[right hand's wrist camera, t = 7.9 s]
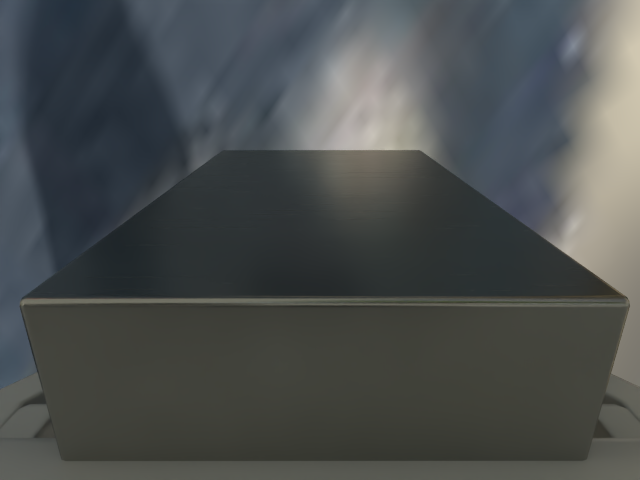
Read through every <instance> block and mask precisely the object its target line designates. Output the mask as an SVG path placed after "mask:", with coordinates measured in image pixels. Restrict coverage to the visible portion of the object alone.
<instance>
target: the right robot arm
mask: <svg viewBox="0 0 640 480" xmlns="http://www.w3.org/2000/svg"><path fill="white" fill-rule="evenodd" d="M0 480H640V387H639V386H637V385H634V384H632V383H630V382H628V381H626V380H624V379H621V378H619V377H617V376H615V375H613V374H611V375H610V378H609V382H608V386H607V389H606V393H605V396H604V400H603V403H602V407H601V411H600V414H599V418H598V421H597V425H596V428H595V432H594V435H593V439H592V443H591V446H590V450H589V453H588V457H587V459H586V460H584V461H64V460H61V456H60V452H59V449H58V445H57V441H56V438H55V434H54V431H53V427H52V423H51V420H50V416H49V412H48V409H47V405H46V401H45V398H44V394H43V390H42V387H41V383H40V379H39V376H38V372H37V373H35V374H32V375H30V376H28V377H26V378H24V379H22V380H19V381H17V382H15V383H13V384H11V385H9V386H7V387H4V388H2V389H0Z"/></svg>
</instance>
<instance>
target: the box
mask: <svg viewBox="0 0 640 480" xmlns="http://www.w3.org/2000/svg"><path fill="white" fill-rule="evenodd" d="M629 307H630V304H629V300H628V298H627V297H626V296H624V295H623V294H622V293H620V292H619V291H617V290H616V289H615V288H613V287H612V286H610V285H609V284H607V283H606V282H605V281H603V280H602V279H600V278H599V277H598V276H596V275H595V274H593V273H592V272H591V271H589V270H588V269H586V268H585V267H584V266H582V265H581V264H579V263H578V262H577V261H575V260H574V259H572V258H571V257H569V256H568V255H567V254H565V253H564V252H562V251H561V250H560V249H558V248H557V247H555V246H554V245H553V244H551V243H550V242H548V241H547V240H546V239H544V238H543V237H541V236H540V235H538V234H537V233H536V232H534V231H533V230H531V229H530V228H529V227H527V226H526V225H524V224H523V223H522V222H520V221H519V220H517V219H516V218H515V217H513V216H512V215H510V214H509V213H508V212H506V211H505V210H503V209H502V208H500V207H499V206H498V205H496V204H495V203H493V202H492V201H491V200H489V199H488V198H486V197H485V196H484V195H482V194H481V193H479V192H478V191H477V190H475V189H474V188H472V187H471V186H469V185H468V184H467V183H465V182H464V181H462V180H461V179H460V178H458V177H457V176H455V175H454V174H453V173H451V172H450V171H448V170H447V169H446V168H444V167H443V166H441V165H440V164H438V163H437V162H436V161H434V160H433V159H431V158H430V157H429V156H427V155H426V154H424V153H423V152H422V151H420V150H223V151H221V152H220V153H219V154H217V155H216V156H214V157H213V158H212V159H210V160H209V161H208V162H206V163H205V164H204V165H202V166H201V167H200V168H198V169H197V170H195V171H194V172H193V173H191V174H190V175H189V176H187V177H186V178H185V179H183V180H182V181H181V182H179V183H178V184H176V185H175V186H174V187H172V188H171V189H170V190H168V191H167V192H166V193H164V194H163V195H161V196H160V197H159V198H157V199H156V200H155V201H153V202H152V203H151V204H149V205H148V206H147V207H145V208H144V209H142V210H141V211H140V212H138V213H137V214H136V215H134V216H133V217H132V218H130V219H129V220H127V221H126V222H125V223H123V224H122V225H121V226H119V227H118V228H117V229H115V230H114V231H113V232H111V233H110V234H108V235H107V236H106V237H104V238H103V239H102V240H100V241H99V242H98V243H96V244H95V245H93V246H92V247H91V248H89V249H88V250H87V251H85V252H84V253H83V254H81V255H80V256H79V257H77V258H76V259H74V260H73V261H72V262H70V263H69V264H68V265H66V266H65V267H64V268H62V269H61V270H60V271H58V272H57V273H55V274H54V275H53V276H51V277H50V278H49V279H47V280H46V281H45V282H43V283H42V284H40V285H39V286H38V287H36V288H35V289H34V290H32V291H31V292H30V293H28V294H27V295H26V296H24V297H23V298H22V299H21V301H20V310H21V313H22V317H23V321H24V324H25V328H26V332H27V335H28V339H29V343H30V346H31V350H32V354H33V357H34V361H35V365H36V368H37V372H38V376H39V379H40V383H41V387H42V390H43V394H44V398H45V401H46V405H47V409H48V412H49V416H50V420H51V423H52V427H53V431H54V434H55V438H56V441H57V445H58V449H59V452H60V456H61V460H64V461H584V460H586V459H587V457H588V453H589V450H590V446H591V443H592V439H593V435H594V432H595V428H596V425H597V421H598V418H599V414H600V411H601V407H602V403H603V400H604V396H605V393H606V389H607V386H608V382H609V378H610V375H611V371H612V368H613V364H614V360H615V357H616V353H617V350H618V346H619V343H620V339H621V336H622V332H623V328H624V325H625V321H626V318H627V314H628V311H629Z"/></svg>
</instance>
